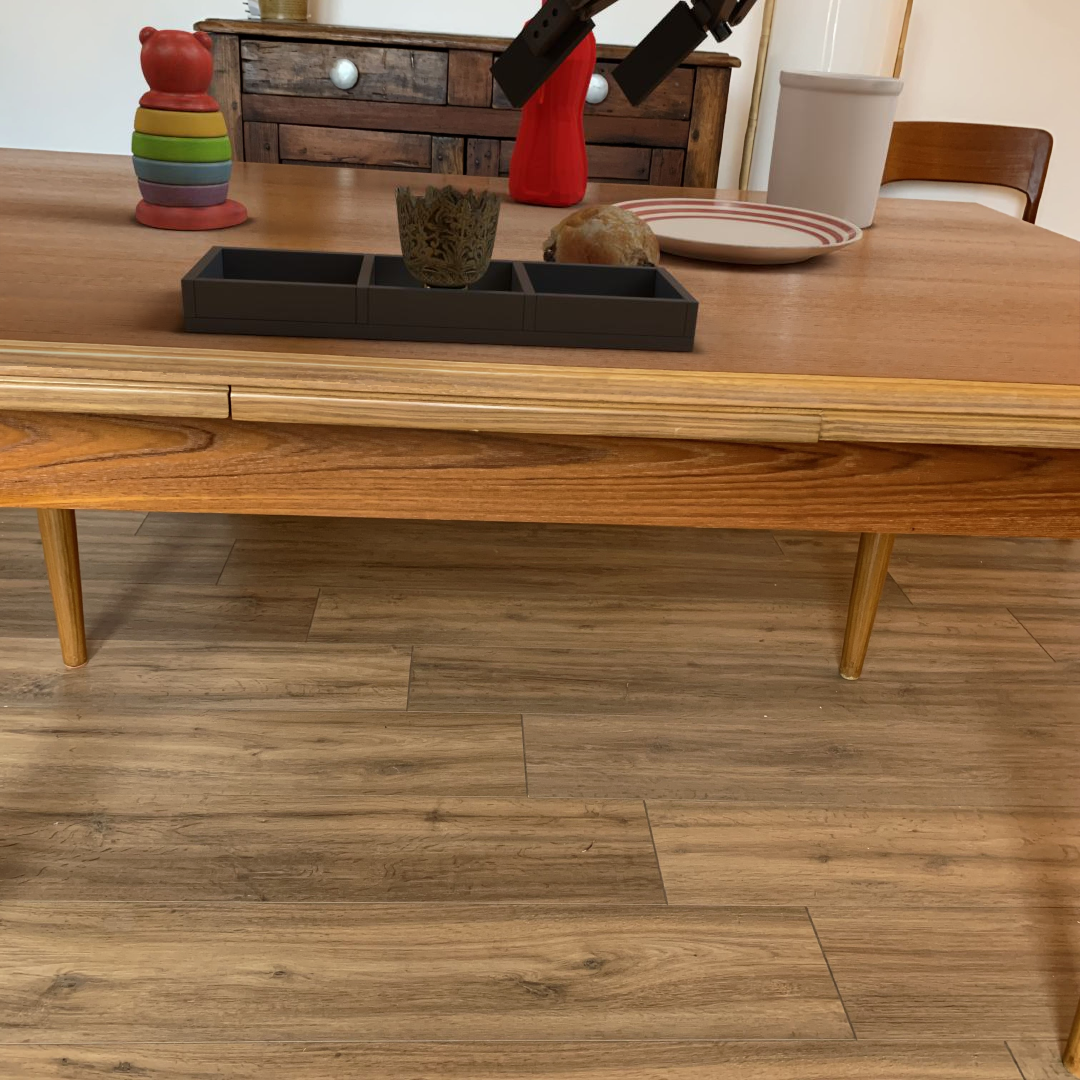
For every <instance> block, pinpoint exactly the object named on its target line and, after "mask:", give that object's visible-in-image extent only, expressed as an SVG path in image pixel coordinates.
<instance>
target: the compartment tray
mask: <svg viewBox="0 0 1080 1080" xmlns="http://www.w3.org/2000/svg"><path fill="white" fill-rule="evenodd" d="M422 285H423V282H421V281H419V280H418V279H416V278H415V277H414V276H413V275H412V274H411V273H410V272H409V270H408V268H407V267H406V265H405V262H404V259H403V255H402V254H389V253H370V252H369V253H368V252H349V251H347V252H346V251H330V250H329V251H328V250H327V251H326V250H309V249H308V250H305V249H284V248H265V247H245V246H242V247H240V246H223V245H212V246H211V247H210V249H208V251H207V252H205V254H204V255H203V256H202V257H201V258H200V259H198V261H197V262H196V263H195V264H194V265H193V266H192V267H191V268H190V269H189V271H188V272H187V273H185V275H184V276H183V277H182V278H181V279H180V286H181V302H182V314H183V328H184V332H185V333H201V334H203V333H204V334H225V335H227V334H229V335H249V336H250V335H254V336H257V335H259V336H278V337H279V336H281V337H307V338H330V339H333V338H334V339H354V340H355V339H356V340H357V339H358V340H380V341H383V340H384V341H404V342H405V341H408V342H429V343H430V342H433V343H455V344H456V343H458V344H460V343H461V344H485V345H486V344H487V345H509V346H510V345H511V346H514V345H515V346H538V347H559V348H560V347H561V348H562V347H563V348H588V349H589V348H590V349H610V350H611V349H613V350H614V349H615V350H637V351H638V350H640V351H641V350H642V351H664V352H667V351H669V352H689V353H690V352H691V353H692V352H693V351H694V345H695V337H696V331H697V330H696V329H697V322H698V314H699V305H700V302H699V301H698V300H697V299H696V298H695V297H694V296H693V295H692V294H691V293H690V292H689V291H688V290H687V288H686V287H684V286H683V285H682V283H681V282H679V281H678V280H677V278H675V277H674V276H673V275H672V274H671V273H670V272H669V271H668V269H666V267H664V266H663V267H662V266H658V267H644V266H623V265H602V264H581V263H560V262H545V261H536V260H515V259H512V260H511V259H493V258H491V260H490V264H489V266H488V268H487V270H486V272H485V273H484V275H483V276H482V277H481V278H480V279H479V280H477V281H476V282H474V283H472V284H469V285H468V286H469V288H470V290H463V289H440V288H421V287H422Z"/></svg>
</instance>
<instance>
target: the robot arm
mask: <svg viewBox="0 0 1080 1080" xmlns="http://www.w3.org/2000/svg"><path fill="white" fill-rule="evenodd" d="M618 1H620V0H547V1H546V3H545V4H544V5H543V6H542V5H541V7H540V8H539V10H538V11H536V13H535V14H534V15H533V16H532V17H531V18H532V19H531V18H530V19H531V20H530V19H529V20H530V21H529V23H528V24H527V25H526V26H525V27H524V26H523V27H524V29H523V28H522V29H523V30H522V29H521V31H520V32H519V33H518V34H517V36H516V37H515V38H514V39H513V40H512V41H511V42H510V44H509V45H508V46H507V47H506V48H505V50H504V51H503V52H502V53H501V54H500V56H499V57H498V58H497V59H496V60H495V62H494V63H493V64H492V65H491V66H490V67H489V68H488V70H489V72H490V73H491V75H492V77H493V78H494V80H495V81H496V83H497V85H498V86H499V88H500V89H501V91H502V93H503V94H504V95H505V97H506V99H507V100H508V102H509V104H510V105H511V107H512V108H513V109H522V107H523V106H524V105H525V104H526V103H527V101H528V100H529V99H530V98H531V97H532V96H533V95H534V94H535V93H536V91H537V90H538V89H539V88H540V87H541V86H542V85H543V84H544V83H545V81H546V80H547V79H548V78H549V77H550V76H551V75H552V74H553V73H554V71H555V70H556V69H557V68H558V67H559V66H560V65H561V64H562V63H563V62H564V60H565V59H566V58H567V57H568V56H569V55H570V54H571V53H572V52H573V50H574V49H575V48H576V47H577V46H578V45H579V44H580V43H581V42H582V40H583V39H584V38H585V37H586V36H587V35H588V34H589V33H590V32H591V31H593V30H594V29H595V28H596V26H597V25H596V23H595V21H594V20H593V17H595V16H596V15H598V14H599V13H601V12H602V11H604V10H605V9H608V8H609V7H611V6H612V5H614V4H616V3H617V2H618ZM757 1H758V0H690V3H691V5H692V7H690V6H689V4H688V2H687V1H686V0H679V1H677V3H676V4H674V6H673V7H672V8H671V9H670V10H669V11H668V12H667V13H666V15H665V16H663V18H661V20H660V21H658V22H657V24H656V25H655V26H654V27H653V28H652V29H651V30H649V32H648V33H647V34H646V35H645V36H644V38H642V39H641V41H640V42H638V44H637V45H636V46H635V47H633V49H632V50H631V51H630V52H629V53H628V54H627V55H626V56H625V57H624V59H623V60H622V61H621V62H620V63H619V64H618V65H617V66H616V67H615V68H614V69H613V70H612V71H611V72H610V75H611V76H612V78H613V79H614V81H615V82H616V84H617V85H618V87H619V89H620V90H621V91H622V93H623V95H624V96H625V98H626V100H627V101H628V103H629V104H630V105H631V107H639V106H640V105H641V104H642V103H644V101H645V100H646V99H647V98H648V97H649V96H650V95H651V94H652V93H653V92H654V91H655V90H656V89H657V88H658V87H659V86H660V85H661V84H662V83H663V82H664V81H665V80H667V78H668V77H669V76H670V75H671V74H672V73H673V72H674V71H675V70H676V69H677V68H678V67H679V66H680V65H681V64H682V63H683V62H684V61H685V60H686V59H687V58H688V57H689V56H690V55H691V54H692V53H693V52H694V51H695V50H696V49H697V48H698V47H699V46H700V45H701V44H702V43H703V42H704V41H705V40H706V39H707V38H708V37H709V34H708V32H709V33H710V34H711V35H712V37H713V38H714V40H715V41H716V43H717V44H720V43H723V42H724V41H726V40H727V39H728V38H730V37H731V35H732V34H733V30H732V29H731V28H734V27H736V26H739V25H741V23H742V22H743V20H744V19H745V18H746V17H747V15H749V13H750V11H751V10H752V8H753V7H754V6H755V4H756V3H757Z"/></svg>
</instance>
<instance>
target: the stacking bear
mask: <svg viewBox="0 0 1080 1080" xmlns="http://www.w3.org/2000/svg"><path fill="white" fill-rule="evenodd" d="M138 41H139V43H140V44H141V48H140V52H139V53H140V55H139V62H140V68H141V73H142V75H143V77H144V80H145V82H146V84H147V85H148V87H149V90H148V91H146V92H144V93H143V94H142V96H141V97H140V98H139V100H138V104H139V106H138V107H137V108H136V110H135V114H134V119H133V129H134V130H133V131H132V132H131V133H132V134H131V148H130V151H131V153H132V156H131V159H132V165H133V169H134V173H135V176H136V178H137V185H138V188H139V192H140V195H141V197H142V199H140V200H139V201H138V202H137V204H136V206H135V219H136V220H137V221H138V222H140V223H141V224H143V225H145V226H148V227H152V228H157V229H165V230H177V231H205V230H215V229H221V228H222V229H223V228H224V229H225V228H228V227H233V226H238V225H239V224H242V223H244V222H245V221H247V219H248V210H247V207H246V206H245V205H244V204H242V203H241V202H240V201H236V200H233V199H231V198H228V192H229V186H230V181H231V179H232V178H231V177H232V170H233V162H232V156H233V153H232V152H233V151H232V145H231V140H230V137H229V136H228V135H227V134H228V129H227V125H226V120H225V117H224V114H223V113H222V112H221V111H220V105H219V103H217V101H216V99H214V97H212V96H211V95H209V94H208V93H207V91H208V90H209V88H210V86H211V83H212V81H213V80H212V79H213V74H214V60H213V57H212V53H211V49H212V47H213V41H212V38H211V36H210V35H209V34H208V33H207V32H206V31H203V30H197V31H195V32H193V33H192V32H189V31H186V30H180V29H160V30H158V29H156V28H155V27H153V26H145V27H143V28H141V29H140V31H139V32H138Z"/></svg>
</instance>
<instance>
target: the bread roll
mask: <svg viewBox="0 0 1080 1080" xmlns="http://www.w3.org/2000/svg"><path fill="white" fill-rule="evenodd" d="M612 205H613V204H594V205H589V206H586V207H584V208H583V207H582V209H578V210H577V211H574V212H572V213H570V214H569V215H568V216H566V217H565V218H563V219H562V220H561V221H560V222H559V223H558V224H556V226H553V227H552V228H551V229H550V235H549V236H548V237H547V239H546V240H544V241H543V243H542V246H541V250H542V252H543V255H542V258H543V262H560V263H581V264H602V265H623V266H644V267H659V264H660V259H661V252H660V251H661V250H659V245H658V242H657V239H656V236H655V235H654V233H653V231H652V230H651V228H650V226H649V225H648V224H647V223H646V222H645V221H644V220H642V219H640V218H639V217H637V214H636V213H634V212H633V211H629V210H626V211H625V210H623V209H621V208H619V207H616V206H612Z"/></svg>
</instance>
